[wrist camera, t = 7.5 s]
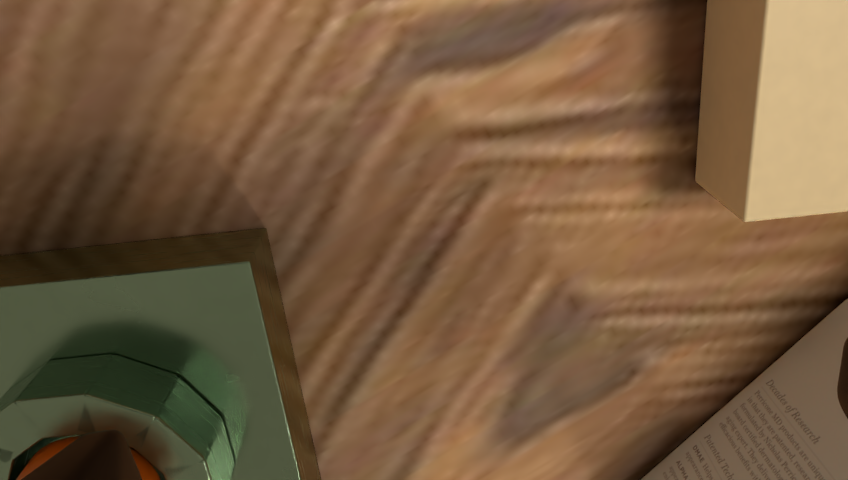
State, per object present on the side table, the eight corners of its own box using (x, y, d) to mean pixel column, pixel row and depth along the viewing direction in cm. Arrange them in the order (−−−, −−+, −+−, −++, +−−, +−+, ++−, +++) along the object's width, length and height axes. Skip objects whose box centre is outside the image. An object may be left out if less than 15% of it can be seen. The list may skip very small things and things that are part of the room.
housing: (-83, 263, 19) (-199, 340, 15) (266, 226, 19) (233, 296, 15) (47, 542, 23) (-19, 653, 20) (329, 515, 23) (315, 621, 20)
